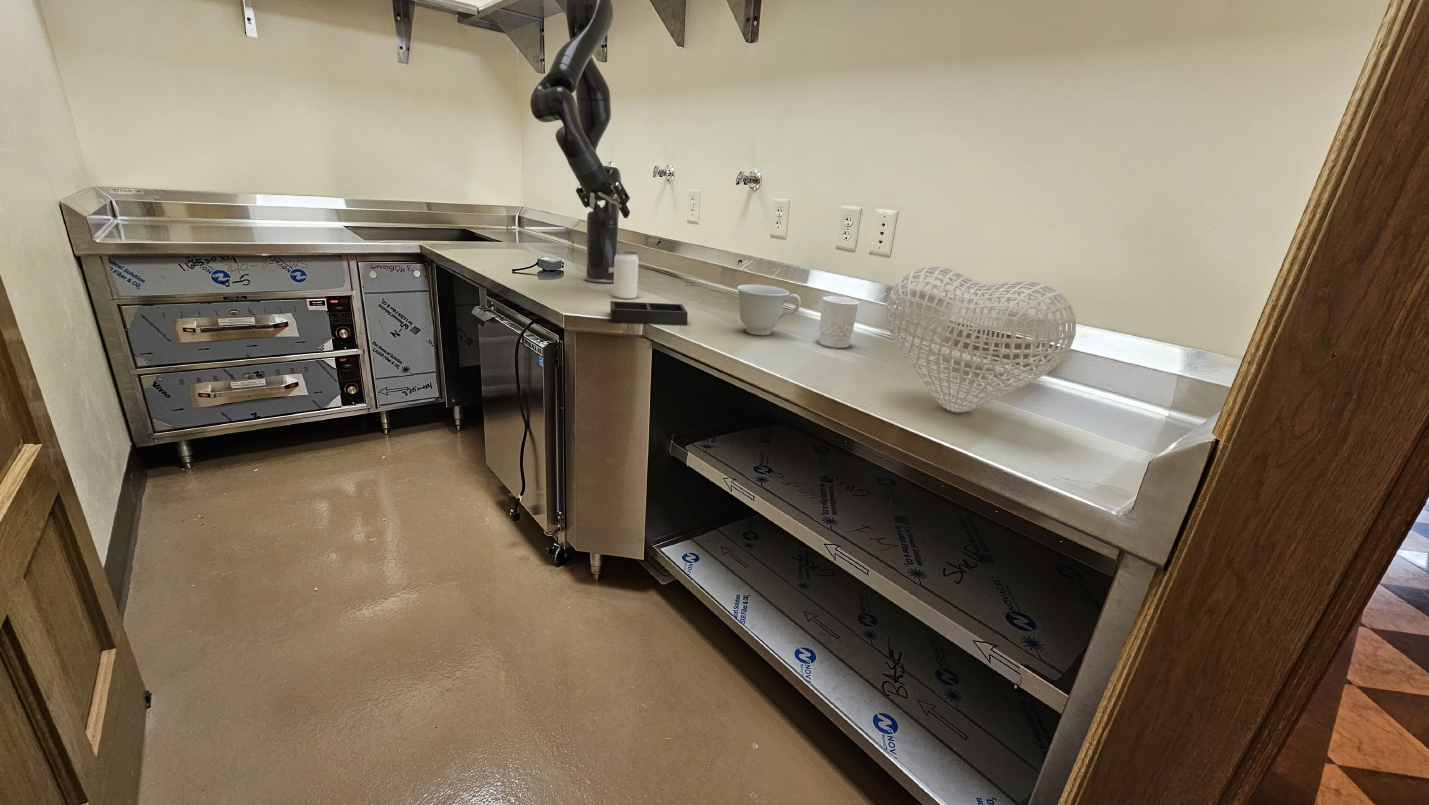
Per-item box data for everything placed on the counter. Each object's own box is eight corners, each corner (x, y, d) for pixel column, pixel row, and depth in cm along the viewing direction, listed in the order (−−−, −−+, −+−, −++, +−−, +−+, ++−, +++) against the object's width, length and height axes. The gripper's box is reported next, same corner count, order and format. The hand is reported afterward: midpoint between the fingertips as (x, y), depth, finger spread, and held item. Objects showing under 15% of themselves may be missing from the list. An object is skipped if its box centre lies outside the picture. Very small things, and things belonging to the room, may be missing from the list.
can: (610, 294, 168) (611, 250, 164) (632, 294, 171) (634, 251, 167) (617, 299, 163) (618, 253, 159) (640, 299, 166) (642, 254, 162)
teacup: (790, 344, 133) (796, 298, 129) (725, 333, 137) (729, 289, 133) (801, 333, 144) (806, 290, 140) (740, 323, 148) (745, 282, 144)
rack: (610, 313, 146) (610, 300, 145) (681, 316, 150) (682, 304, 149) (611, 322, 138) (611, 309, 137) (686, 324, 142) (687, 312, 141)
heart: (1058, 427, 96) (1100, 287, 88) (1026, 452, 85) (1071, 295, 78) (897, 380, 114) (920, 259, 106) (853, 395, 103) (876, 262, 95)
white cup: (858, 346, 136) (865, 301, 133) (839, 351, 130) (846, 304, 127) (828, 338, 141) (835, 295, 137) (809, 342, 135) (815, 298, 132)
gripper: (614, 154, 154) (641, 206, 166) (571, 158, 160) (600, 209, 172) (602, 172, 150) (630, 225, 162) (558, 176, 157) (588, 226, 169)
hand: (614, 216), depth 167 cm, fingers open, 8 cm apart
